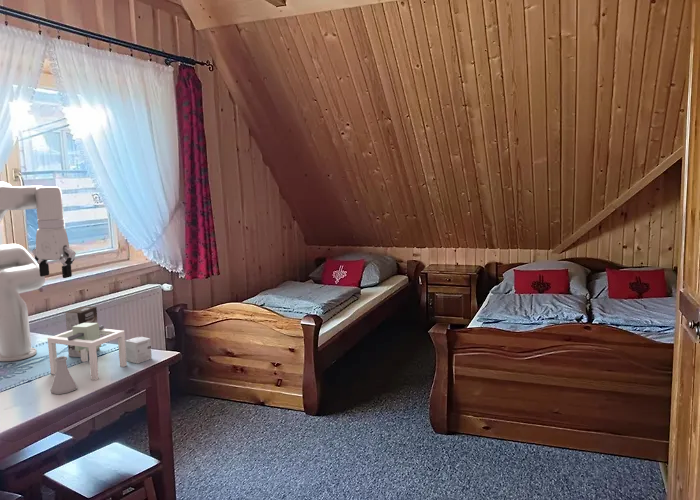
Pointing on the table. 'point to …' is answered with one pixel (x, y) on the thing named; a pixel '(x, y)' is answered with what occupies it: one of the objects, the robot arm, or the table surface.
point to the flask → (62, 378)
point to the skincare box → (138, 349)
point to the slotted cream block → (87, 333)
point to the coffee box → (78, 318)
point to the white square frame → (90, 344)
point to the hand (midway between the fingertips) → (55, 276)
